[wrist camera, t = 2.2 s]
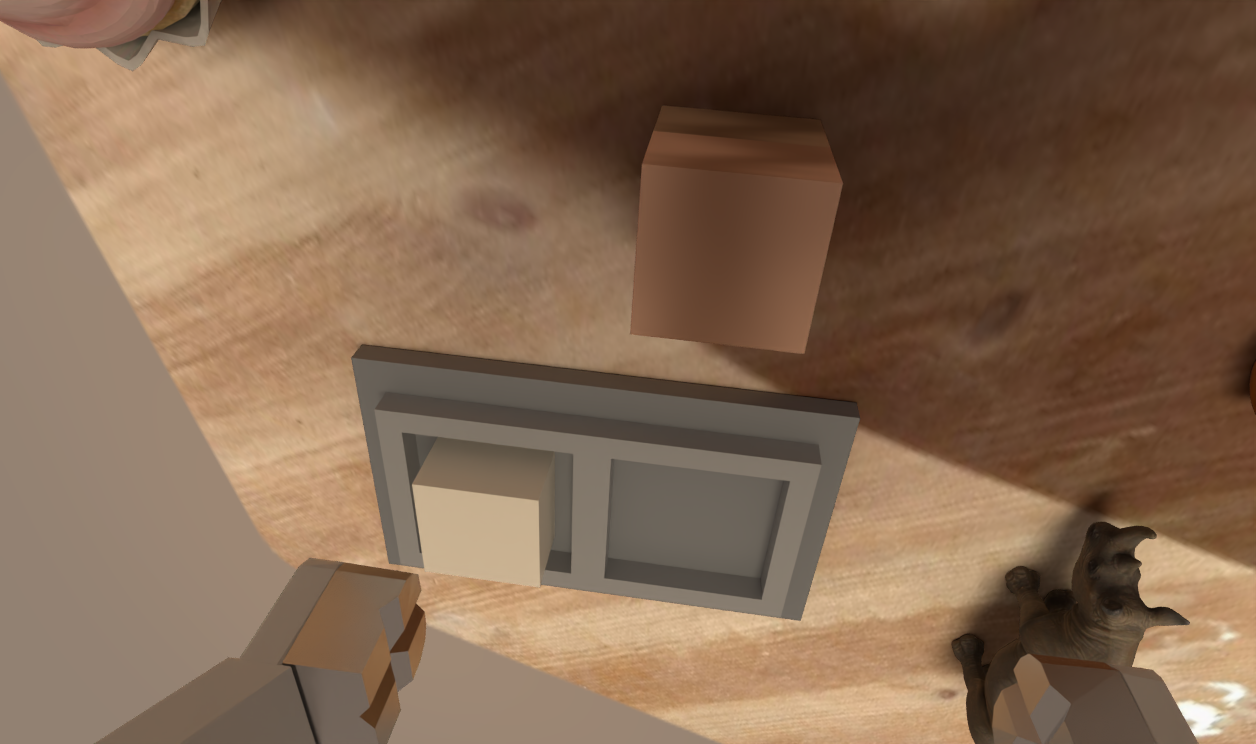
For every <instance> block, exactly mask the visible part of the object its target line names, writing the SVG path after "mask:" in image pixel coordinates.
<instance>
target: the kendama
mask: <svg viewBox="0 0 1256 744" xmlns="http://www.w3.org/2000/svg"><path fill="white" fill-rule="evenodd" d="M1249 391H1250V399H1251V403H1252V407H1253V410H1254V412H1255V414H1256V360H1255V362H1254V365H1253V368H1252V371H1251V376H1250V386H1249Z"/></svg>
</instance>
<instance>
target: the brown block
mask: <svg viewBox="0 0 1256 744" xmlns="http://www.w3.org/2000/svg"><path fill="white" fill-rule="evenodd" d="M842 186H843V182H842V179H841V176H840V174H839V171H838V168H837V165H836V162H835V159H834V157H833V154H832V151H831V148H830V145H829V142H828V140H827V137H826V134H825V131H824V128H823V125H822V123H821V120H819V119H808V118H797V117H786V116H775V115H764V114H753V113H742V112H731V111H720V110H709V109H698V108H687V107H676V106H665V105H662V107H661V110H660V113H659V116H658V119H657V122H656V125H655V128H654V130H653V133H652V136H651V139H650V142H649V145H648V148H647V151H646V154H645V157H644V160H643V163H642V171H641V186H640V201H639V215H638V230H637V244H636V259H635V273H634V288H633V302H632V317H631V331H630V334H634V335H642V336H651V337H660V338H669V339H678V340H686V341H695V342H704V343H713V344H722V345H730V346H739V347H748V348H757V349H766V350H774V351H783V352H792V353H801V354H804V353H805V348H806V344H807V339H808V335H809V331H810V326H811V322H812V317H813V313H814V309H815V304H816V300H817V295H818V291H819V287H820V282H821V278H822V273H823V269H824V265H825V260H826V256H827V252H828V247H829V243H830V238H831V234H832V230H833V225H834V221H835V216H836V212H837V208H838V203H839V199H840V194H841V190H842Z"/></svg>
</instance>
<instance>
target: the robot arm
mask: <svg viewBox="0 0 1256 744" xmlns="http://www.w3.org/2000/svg"><path fill="white" fill-rule="evenodd" d="M420 593H421V586H420V581H419V576H418V574H413V573H407V572H401V571H394V570H388V569H382V568H376V567H370V566H363V565H357V564H351V563H345V562H338V561H330V560H323V559H316V558H309V559H308V560H306V561H305V562H304V563H303V564H301V565H300V566H299V567H298V569H297V570H296V572H295V573H294V575H293V576H292V578H291V579H290V581H289V582H288V584H287V586H286V587H285V589H284V590H283V592H282V593H281V595H280V596H279V598H278V599H277V601H276V603H275V604H274V606H273V607H272V609H271V610H270V612H269V613H268V615H267V616H266V618H265V620H264V621H263V623H262V624H261V626H260V627H259V629H258V630H257V632H256V634H255V635H254V637H253V638H252V640H251V641H250V643H249V644H248V646H247V647H246V649H245V651H244V652H243V654H242V655H241V657H240V658H239V659H238V658H227V659H225V660H224V661H222V662H221V663H219V664H217V665H216V666H214V667H213V668H211V669H210V670H208V671H207V672H205V673H204V674H202V675H200V676H199V677H197V678H196V679H194V680H192V681H191V682H189V683H188V684H186V685H185V686H183V687H182V688H180V689H179V690H177V691H175V692H174V693H172V694H171V695H169V696H167V697H166V698H165V699H163V700H162V701H160V702H158V703H157V704H155V705H153V706H152V707H150V708H149V709H147V710H146V711H144V712H143V713H141V714H140V715H138V716H136V717H135V718H133V719H132V720H130V721H129V722H127V723H125V724H124V725H122V726H121V727H119V728H118V729H116V730H114V731H113V732H111V733H110V734H108V735H107V736H105V737H104V738H102V739H100V740H99V741H98V742H96V743H94V744H387V743H388V740H389V738H390V735H391V733H392V730H393V727H394V725H395V723H396V721H397V718H398V716H399V713H400V711H401V709H400V703H399V698H398V691H399V690H401V689H402V688H403V687H405V686H406V685H407V684H408V683H410V682H411V681H412V680H413V678H414V676H415V673H416V670H417V668H418V665H419V663H420V660H421V656H422V651H423V647H424V643H425V635H426V619H425V612H424V611H423V610H422V609H421V608H420V607H419V606H418V605H417V604H416V602H417V600H418V597H419V595H420ZM1014 673H1015V676H1016V679H1017V681H1018V683H1016V684H1014V685H1012V686H1009V687H1007V688H1005V689H1003V690H1002V691H1001V693H1000V695H999V697H998V699H997V701H996V703H995V705H994V711H993V722H992V729H993V736H994V744H1199V743H1198V742H1197V740H1196V738H1195V736H1194V734H1193V733H1192V731H1191V729H1190V727H1189V725H1188V724H1187V722H1186V720H1185V718H1184V717H1183V715H1182V713H1181V711H1180V709H1179V708H1178V706H1177V704H1176V702H1175V700H1174V699H1173V697H1172V695H1171V693H1170V692H1169V690H1168V688H1167V686H1166V684H1165V683H1164V681H1163V680H1162V678H1161V677H1160V676H1159V675H1158V674H1156V673H1155V672H1154V671H1153V670H1150V669H1144V668H1136V667H1128V666H1120V665H1112V664H1106V663H1104V662H1096V661H1088V660H1079V659H1071V658H1062V657H1054V656H1045V655H1037V654H1027V655H1025V656H1023V657H1021V658H1020V660H1019V661H1018V663H1017V665H1016V666H1015V668H1014Z"/></svg>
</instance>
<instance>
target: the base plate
mask: <svg viewBox="0 0 1256 744" xmlns="http://www.w3.org/2000/svg"><path fill="white" fill-rule="evenodd" d="M351 359H352V365H353V370H354V376H355V381H356V387H357V392H358V397H359V403H360V408H361V414H362V419H363V425H364V430H365V435H366V441H367V446H368V452H369V457H370V463H371V468H372V474H373V479H374V484H375V490H376V495H377V501H378V506H379V512H380V517H381V522H382V528H383V533H384V539H385V544H386V550H387V555H388V561H389V564H397V565H404V566H411V567H418V568H424V570H425V572H432V573H439V574H447V575H454V576H461V577H468V578H475V579H482V580H489V581H497V582H504V583H511V584H518V585H525V586H532V587H540V586H541V585H547V586H554V587H562V588H569V589H576V590H583V591H590V592H598V593H605V594H612V595H619V596H626V597H633V598H641V599H648V600H655V601H662V602H669V603H676V604H684V605H691V606H698V607H705V608H712V609H720V610H727V611H734V612H741V613H748V614H755V615H763V616H770V617H777V618H784V619H791V620H799V621H801V618H802V614H803V611H804V607H805V604H806V601H807V597H808V594H809V590H810V587H811V584H812V580H813V577H814V573H815V570H816V567H817V563H818V560H819V556H820V553H821V550H822V546H823V543H824V539H825V536H826V533H827V529H828V526H829V522H830V519H831V516H832V512H833V509H834V505H835V502H836V498H837V495H838V492H839V488H840V485H841V481H842V478H843V475H844V471H845V468H846V464H847V461H848V458H849V454H850V451H851V447H852V444H853V441H854V437H855V434H856V430H857V427H858V424H859V420H860V416H859V411H858V407H857V403H853V402H845V401H836V400H828V399H819V398H811V397H802V396H794V395H785V394H777V393H768V392H760V391H751V390H743V389H734V388H726V387H717V386H709V385H700V384H692V383H683V382H675V381H666V380H658V379H649V378H640V377H632V376H623V375H615V374H606V373H598V372H589V371H581V370H572V369H564V368H555V367H547V366H538V365H530V364H521V363H513V362H504V361H496V360H487V359H479V358H470V357H462V356H453V355H444V354H436V353H427V352H419V351H410V350H402V349H393V348H385V347H376V346H368V345H361V346H360V348H359V349H358V350H357V351H356V353H355V354H354V355H353V356H352V357H351Z"/></svg>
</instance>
